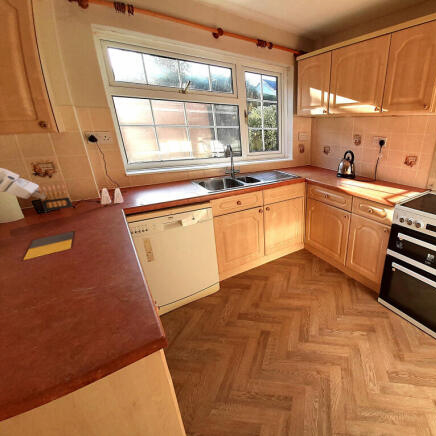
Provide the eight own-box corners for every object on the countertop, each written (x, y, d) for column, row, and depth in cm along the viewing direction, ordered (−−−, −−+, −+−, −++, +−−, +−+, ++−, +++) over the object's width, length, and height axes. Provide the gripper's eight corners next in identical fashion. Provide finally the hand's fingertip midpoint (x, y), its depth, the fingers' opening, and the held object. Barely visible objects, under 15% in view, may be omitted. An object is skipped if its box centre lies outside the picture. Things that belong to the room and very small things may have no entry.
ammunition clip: (72, 205, 128) (65, 183, 124) (72, 206, 127) (64, 184, 123) (45, 209, 123) (36, 186, 118) (44, 210, 121) (35, 187, 117)
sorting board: (24, 262, 93) (22, 259, 93) (34, 242, 110) (33, 239, 109) (71, 250, 101) (70, 248, 101) (74, 233, 118) (73, 231, 117)
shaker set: (102, 206, 155) (96, 190, 151) (102, 205, 158) (96, 188, 154) (124, 202, 162) (119, 186, 157) (123, 201, 165) (118, 185, 160)
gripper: (9, 183, 119) (44, 198, 128) (-4, 191, 104) (37, 207, 113) (18, 172, 120) (52, 188, 129) (6, 179, 105) (46, 196, 114)
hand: (45, 197), depth 121 cm, fingers closed on ammunition clip, 2 cm apart
